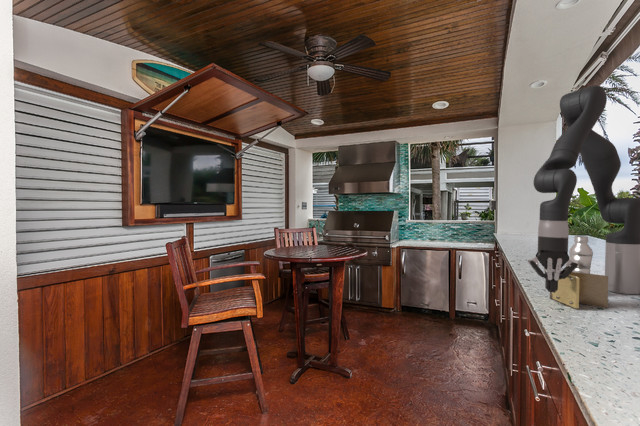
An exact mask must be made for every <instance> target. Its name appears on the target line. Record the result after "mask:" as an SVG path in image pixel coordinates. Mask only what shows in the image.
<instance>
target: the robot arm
mask: <svg viewBox="0 0 640 426" xmlns="http://www.w3.org/2000/svg"><path fill="white" fill-rule="evenodd" d="M607 99H608V98H607V93H606V91H605V89H604V88H603V87H602V86H601V85H599V84H597V85H596V84H595V85H590V86H587V87H586V86H585V87H584V88H581V89H580V88H579V89H577V90H574V91H571V92H568V93H565V94H564V95H563V96H561V98H560V100H559V110H560V113H561V115H562V118H563V119H564V121H565V124H566V125H567V129H566V130H565V131H564V132H562V134H561V135H559V137H558V139H557V140H556V141H555V143H554V145H553V147H552V150H551V153H550V155H549V157H548V159H546V160H545V162H544V163H543V164H542V165H541V167H539V169H538V171H536V174H535V175H534V178H533V187H534V189H535V190H536V191H537V192H538V193H541V194H551V193H552V194H554V193H555V194H556V193H557V194H556V196H555V197H554V198H553V199H549V200H544V201H542V202H540V205H539V221H538V228H537V229H538V230H537V231H538V232H537V251H536V254H535V257H533V258H532V259H528V260H527V262H528V263H527V264H529V265H530V266H531V268H532V269H533V270H534V272H536V274H537V275H538V276H540V277H541V278H544V279H545V281H544V284H545V285H544V286H545V290H547V292H548V293H550V292H553V293H555V292H556V291H557V290H558V280H560V279H565V278H566V277H567V276H568V275H569V274H570V273H571V272H572V271H573V270H574V269H575V268H576V267H577V266H578V264H577V263H574V262H573V261H571V260H570V255H569V235H570V232H569V231H570V229H569V206H570V203H571V199H572V197H573V195H574V192H575V189H576V185H577V182H578V179H577V177H578V176H577V174H576V172H575V171H574V170H573V169H572V168H573V167H575V166H576V164H577V162H578V159H579V156H580V157H581V160H582V163H583V165H584V168H585V171H586V173H587V175H588V177H589V179H590V182H591V185H592V187H593V190H594V194H595V199H596V202H597V203H596V204H597V207H598V210H599V213H600V215H601V219H602V220H603V221H604V222H606V223H609V224H620V225H623V227H622V229H620V230H618V231H616V232H611V233H607V234H606V236H605V249H604V250H605V253H604V254H605V255H604V256H605V257H604V259H605V260H604V275H605V276H608V292H613V293H616V294H623V295H624V294H625V295H640V198H639V197H638V198H637V197H616V196H615V195H614V192H613V188H612V187H613V183H614V182H615V180H616V178H617V176H618V174H619V172H620V169H621V166H622V161H621V158H620V156H619V153H618V150H617V148H616V146H615V145H614V143H613V142H611V141H610V140H609V139H607V138H606V137H604V136H602V135H601V134H599V133H598V132H596V131H594V130H593V128H594V127H595V125H596V123H597V122H598V120H599V119H600V117H601V116H602V114H603V112H604V110H605V109H606V105H607V103H608V102H607V101H608V100H607ZM539 263H540V265H541V266H542V267H543V270H542V269H541V268H540V267H539V266H538V265H539ZM564 266H565V267H564ZM563 267H564V268H563ZM562 268H563V269H562ZM561 270H562V271H561ZM560 271H561V272H560Z"/></svg>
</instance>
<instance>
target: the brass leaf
mask: <svg viewBox="0 0 640 426" xmlns="http://www.w3.org/2000/svg"><path fill="white" fill-rule="evenodd" d="M553 299H554V301H557V302H560V303H561V304H564V305H567V306H569V307H571V308H573V309H579V305H580V304H579V277H575V276H572V275H568V276H567V277H566V278H565V279H560V280H558V290H557V291H556V292H555V293H553V297H552V299H551V300H553Z"/></svg>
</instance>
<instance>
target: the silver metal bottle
mask: <svg viewBox="0 0 640 426" xmlns="http://www.w3.org/2000/svg"><path fill="white" fill-rule="evenodd" d="M573 242H574V243H573V245H571V247H570V248H569V249H568V255H569V257H570V260H571V261H573V262H574V263H577V264H578V266H577V267H576V268H575V269H574V270H573V271H572V272H579V273H587V274H591V267H592V266H591V265H592V260H593V255H594V251H593V249H592V248H591V247H590V245H589V244H588V243H589V237H588V236H586V235H585V236H584V235H575V236H574V240H573Z"/></svg>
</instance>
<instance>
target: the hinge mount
mask: <svg viewBox="0 0 640 426" xmlns="http://www.w3.org/2000/svg"><path fill="white" fill-rule="evenodd" d="M562 270H563V269H561V271H562ZM561 271H560V272H561ZM569 275H572V276H575V277H579V303H581V304H582V305H585V304H586V305H587V306H592V307H599V308H605V309H608V307H609V300H610V299H608V298H609V291H608V276H605V274H593V273H590V274H587V273H579V272H571V273H570V274H569ZM552 297H553V292H549V299H550V300H554V299H552ZM554 301H555V300H554Z"/></svg>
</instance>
